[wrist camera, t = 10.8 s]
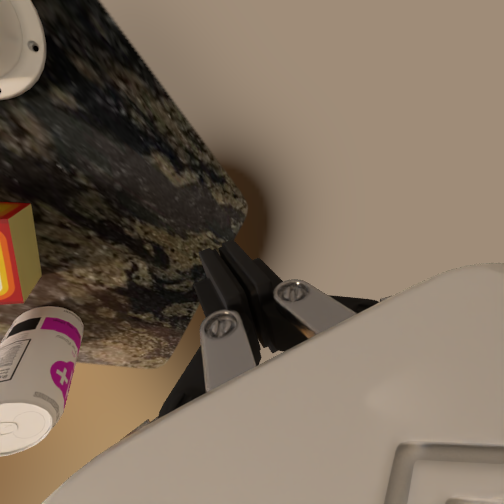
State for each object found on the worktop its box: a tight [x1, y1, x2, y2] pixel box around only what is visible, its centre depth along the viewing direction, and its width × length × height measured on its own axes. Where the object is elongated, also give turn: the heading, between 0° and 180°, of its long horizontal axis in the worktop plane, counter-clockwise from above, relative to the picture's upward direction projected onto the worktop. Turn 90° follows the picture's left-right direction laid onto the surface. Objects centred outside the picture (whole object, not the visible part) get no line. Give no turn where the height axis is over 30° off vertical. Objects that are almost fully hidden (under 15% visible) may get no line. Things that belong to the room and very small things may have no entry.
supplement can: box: [0, 306, 84, 456], centre depth 30 cm, size 8×8×15 cm
